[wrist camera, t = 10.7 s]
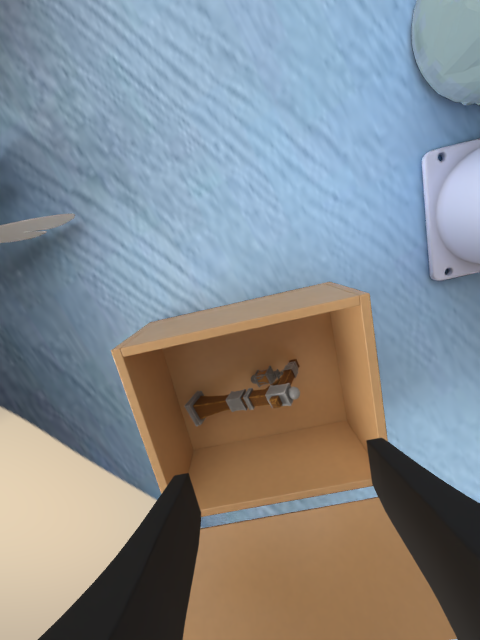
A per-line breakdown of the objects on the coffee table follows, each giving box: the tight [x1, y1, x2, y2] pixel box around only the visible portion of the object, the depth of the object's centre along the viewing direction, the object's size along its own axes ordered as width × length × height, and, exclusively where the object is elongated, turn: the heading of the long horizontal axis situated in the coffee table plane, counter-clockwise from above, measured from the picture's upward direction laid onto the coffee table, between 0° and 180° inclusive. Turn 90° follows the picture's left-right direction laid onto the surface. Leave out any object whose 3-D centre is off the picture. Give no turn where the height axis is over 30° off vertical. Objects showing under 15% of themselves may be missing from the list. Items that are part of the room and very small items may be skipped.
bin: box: [111, 282, 388, 517], centre depth 18 cm, size 11×13×6 cm
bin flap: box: [183, 497, 457, 640], centre depth 14 cm, size 5×13×1 cm
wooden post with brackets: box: [184, 359, 300, 427], centre depth 19 cm, size 2×8×4 cm, turn 116°
